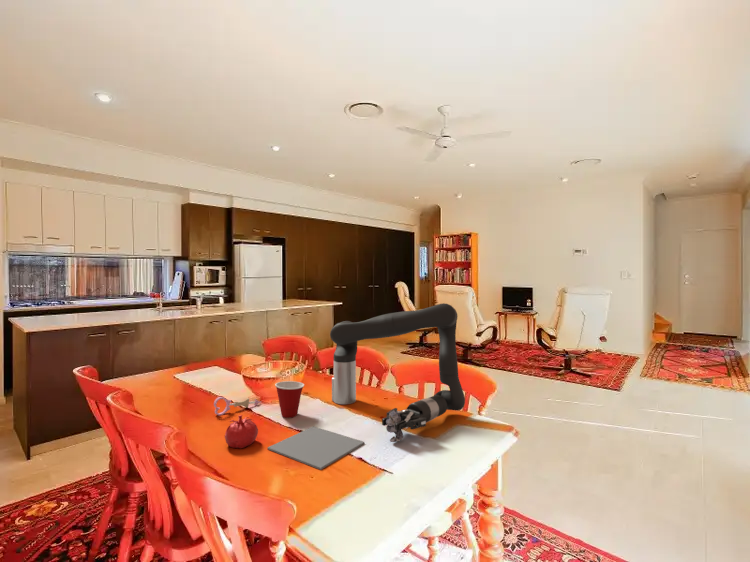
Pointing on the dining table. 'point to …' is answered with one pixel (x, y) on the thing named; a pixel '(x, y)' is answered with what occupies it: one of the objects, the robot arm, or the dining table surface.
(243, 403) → the decorative key
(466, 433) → the dining table surface
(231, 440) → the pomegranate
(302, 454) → the mat
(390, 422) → the grey tall lumpy piece
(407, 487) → the dining table surface
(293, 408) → the plastic cup
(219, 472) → the dining table surface
